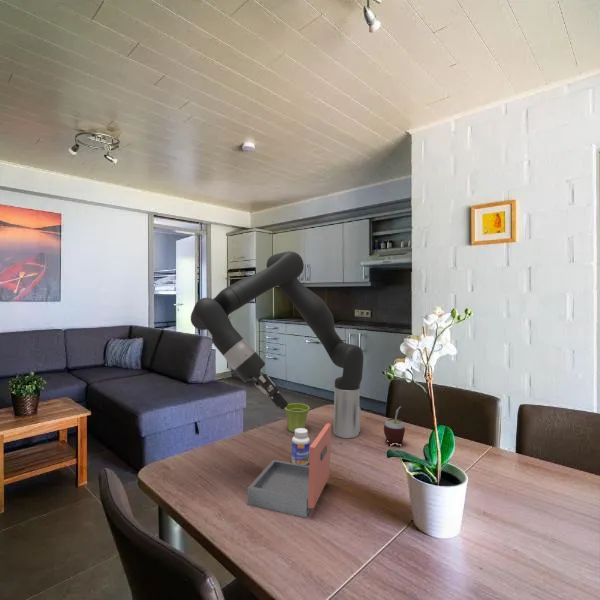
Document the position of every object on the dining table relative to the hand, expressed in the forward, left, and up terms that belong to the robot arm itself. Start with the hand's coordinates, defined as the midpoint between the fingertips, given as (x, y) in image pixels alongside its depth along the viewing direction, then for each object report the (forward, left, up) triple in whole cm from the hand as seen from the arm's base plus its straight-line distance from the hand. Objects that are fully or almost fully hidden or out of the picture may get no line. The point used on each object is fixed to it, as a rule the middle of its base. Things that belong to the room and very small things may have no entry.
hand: (283, 406), depth 96 cm
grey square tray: (+2, +5, -21) cm, 22 cm away
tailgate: (-3, +12, -19) cm, 22 cm away
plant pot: (-28, -26, -21) cm, 44 cm away
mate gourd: (-46, +5, -21) cm, 51 cm away
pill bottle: (-12, -6, -21) cm, 25 cm away
